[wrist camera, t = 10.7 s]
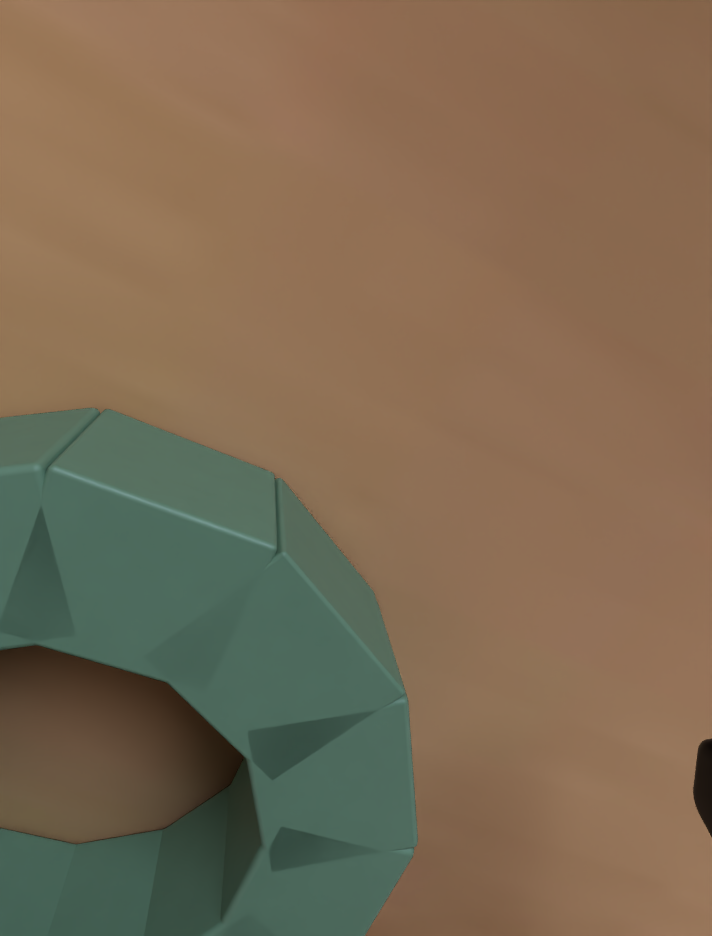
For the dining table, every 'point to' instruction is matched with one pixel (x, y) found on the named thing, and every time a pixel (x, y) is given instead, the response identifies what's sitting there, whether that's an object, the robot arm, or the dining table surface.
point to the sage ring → (207, 685)
